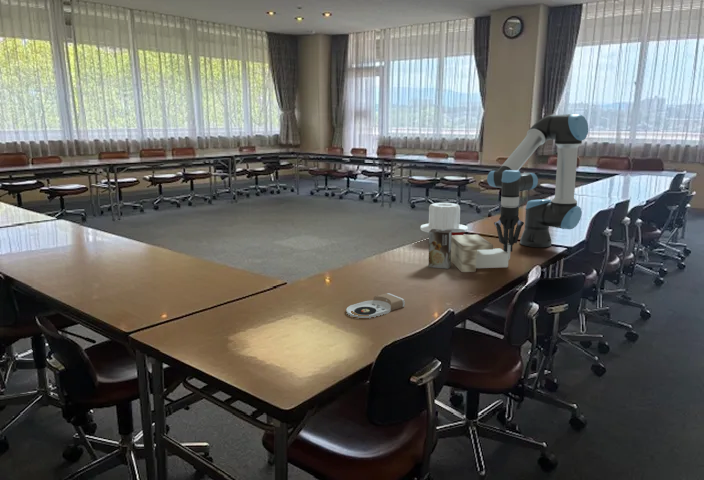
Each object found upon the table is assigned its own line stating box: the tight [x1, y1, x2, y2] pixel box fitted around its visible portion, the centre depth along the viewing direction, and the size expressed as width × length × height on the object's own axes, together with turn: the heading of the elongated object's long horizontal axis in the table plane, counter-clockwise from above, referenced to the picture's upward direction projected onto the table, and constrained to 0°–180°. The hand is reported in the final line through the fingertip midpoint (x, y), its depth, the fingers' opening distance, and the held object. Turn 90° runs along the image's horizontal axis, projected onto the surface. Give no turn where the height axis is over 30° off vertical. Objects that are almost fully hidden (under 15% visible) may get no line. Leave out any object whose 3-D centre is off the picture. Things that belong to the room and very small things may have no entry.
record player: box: [345, 292, 406, 319], centre depth 172 cm, size 12×3×20 cm
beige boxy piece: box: [451, 234, 494, 273], centre depth 223 cm, size 13×20×12 cm, turn 5°
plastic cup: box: [443, 229, 466, 235], centre depth 243 cm, size 11×11×12 cm
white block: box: [476, 247, 509, 269], centre depth 224 cm, size 16×10×6 cm, turn 95°
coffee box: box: [428, 229, 452, 270], centre depth 221 cm, size 9×6×16 cm
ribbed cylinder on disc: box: [419, 202, 469, 234], centre depth 271 cm, size 25×25×19 cm
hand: (507, 258), depth 225 cm, fingers closed
